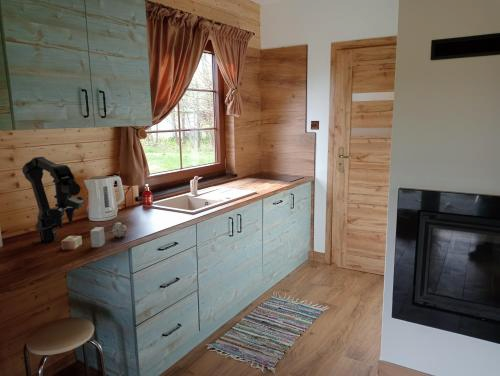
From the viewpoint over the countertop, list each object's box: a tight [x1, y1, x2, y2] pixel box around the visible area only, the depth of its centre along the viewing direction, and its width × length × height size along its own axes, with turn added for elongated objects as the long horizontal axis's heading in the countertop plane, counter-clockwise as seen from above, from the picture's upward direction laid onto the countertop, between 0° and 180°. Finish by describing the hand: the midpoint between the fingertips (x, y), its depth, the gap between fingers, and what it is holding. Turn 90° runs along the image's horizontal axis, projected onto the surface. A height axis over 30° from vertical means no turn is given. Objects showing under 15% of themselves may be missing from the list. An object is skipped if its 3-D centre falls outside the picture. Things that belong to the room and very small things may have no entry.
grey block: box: [90, 226, 106, 248], centre depth 197 cm, size 6×4×8 cm, turn 177°
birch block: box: [60, 235, 83, 250], centre depth 196 cm, size 6×4×8 cm
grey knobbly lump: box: [110, 220, 129, 240], centre depth 208 cm, size 9×8×10 cm
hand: (65, 225), depth 192 cm, fingers open, 9 cm apart
